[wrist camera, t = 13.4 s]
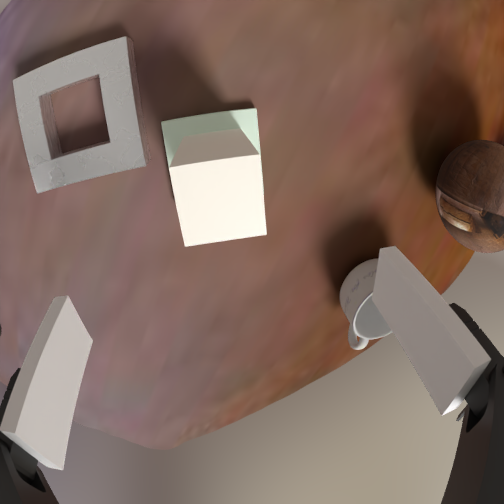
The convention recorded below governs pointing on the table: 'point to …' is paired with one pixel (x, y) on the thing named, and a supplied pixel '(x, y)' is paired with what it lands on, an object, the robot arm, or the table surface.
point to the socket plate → (115, 105)
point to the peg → (218, 187)
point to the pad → (210, 128)
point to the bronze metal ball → (473, 195)
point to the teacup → (362, 305)
